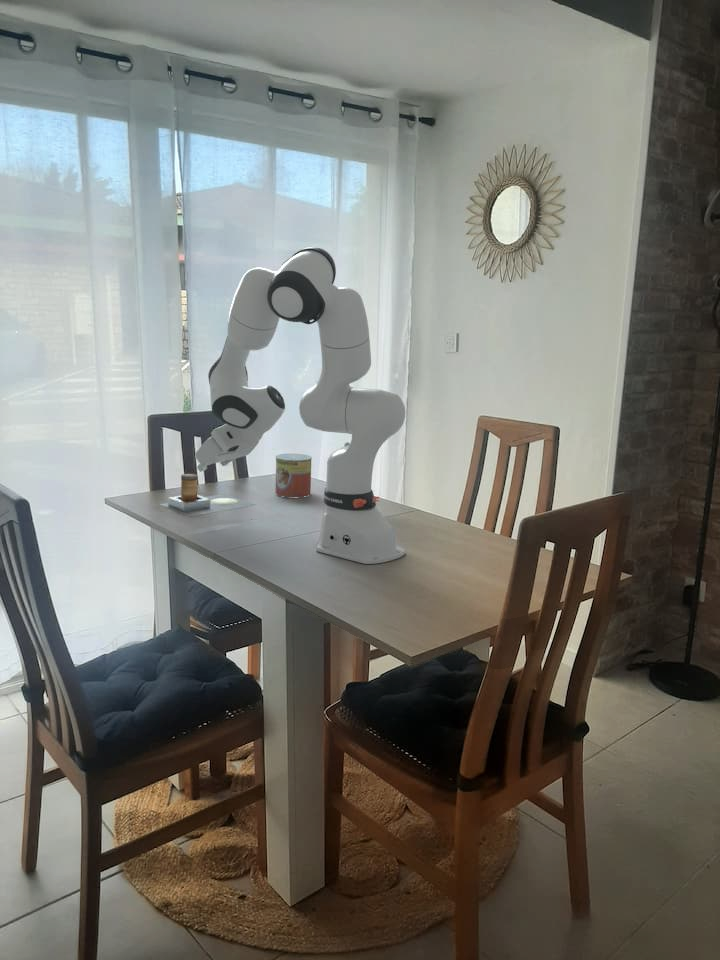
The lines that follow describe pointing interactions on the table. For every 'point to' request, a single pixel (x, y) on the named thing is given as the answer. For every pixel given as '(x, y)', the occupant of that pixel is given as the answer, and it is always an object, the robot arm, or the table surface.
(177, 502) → the collar
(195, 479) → the plug
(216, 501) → the base plate
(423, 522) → the table surface
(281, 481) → the canned food
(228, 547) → the table surface
